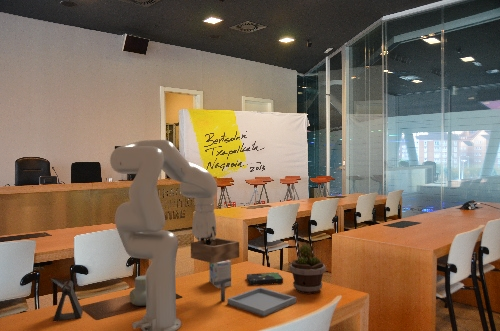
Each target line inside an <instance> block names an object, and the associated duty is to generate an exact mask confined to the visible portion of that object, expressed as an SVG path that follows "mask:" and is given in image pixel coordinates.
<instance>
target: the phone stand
mask: <svg viewBox="0 0 500 331" xmlns="http://www.w3.org/2000/svg"><path fill="white" fill-rule="evenodd" d="M67 283H68V284H67ZM67 287H68V288H67ZM66 296H68V298H69V303H70V304H71V308H72V311H73V312H66V313H65V312H64V313H62V312H63V309H64V305H65V304H64V303H65V301H66V300H65V299H66ZM83 311H84V310H83V309H82V305H81V304H80V301H79V299H78V297H77V294H76V292H75V290H74V282H73V281H72V280H69V282H68V280H66V281H64V283H63V285H62V288H61V297H60V299H59V302H58V305H57V307H56V310H55V313H54V316H53V317H52V322H53V321H56V322H63V321H69V320H70V321H72V320H71V319H73V320H79V319H78V318H80V319H82V316H83Z"/></svg>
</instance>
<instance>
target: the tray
mask: <svg viewBox="0 0 500 331" xmlns="http://www.w3.org/2000/svg"><path fill="white" fill-rule="evenodd" d="M226 300H227V305H229V306H232V307H235V308H238V309H240V310H244V311H247V312H250V313H252V314H255V315H258V316H261V317H266V316H269V315H271V314H273V313H275V312H277V311H280V310H282V309H285V308H286V307H289V306H292V305H294V304H296V303H297V297H296V296H293V295H289V294H286V293H282V292H279V291H275V290H272V289H268V288H264V287H257V288H254V289H251V290H248V291H246V292H242V293H240V294H236V295H235V296H231V297H229V298H227V299H226Z"/></svg>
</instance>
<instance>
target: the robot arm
mask: <svg viewBox="0 0 500 331" xmlns="http://www.w3.org/2000/svg"><path fill="white" fill-rule="evenodd" d="M109 157H110V159H109V162H110V166H111V169H112V170H113V171H114V172H116V173H118V174H122V175H128V174H131V175H135V177H134V179H133V180H132V182H131V184H130V186H129V189H128V198H129V201H126V202H123V203H121V204H119V205H118V207H117V209H116V211H115V215H114V224H115V227H116V231H117V233H118V235H119V238H120V240H121V243H122V246H123V248H124V250H125V252H126V254H127V255H128V256H129V257H131V258H135V259H143V260H144V259H145V260H150V261H151V262H150V265H149V266H148V267H147V269H146V271H145V275H146V305H145V309H146V310H145V312H146V313H145V314H143V315H142V316H143V318H141V320H138V321H134V322H132V324H131V325H132V328H133V329H135V330H136V329H138V328H140V329H141V331H177V330H178V329H180V327H181V326H182V321H181V319H179V318H178V317H177V299H176V298H177V292H176V291H177V288H176V261H177V260H176V259H177V253H178V247H179V240H178V237H177V235H176V234H175V233H174V232H172V231H169V230H165V229H164V228H165V224H166V216H165V212H164V208H163V206H162V202H161V200H160V196H159V193H158V186H157V185H158V181H159V177H160V174H161V172H162V171H163V172H164V173H165V174H166V176H167V177H169V178H170V179H171V180H173V181H176V182H178V183H180V184H179V192H180V194H181V195H182V196H183V197H185V198H194V212H193V218H192V228H191V229H192V236H194V238H195V239H196V240H197V241H202V240H204V244H205V245H211V242H212V241H215V238H216V236H217V220H216V214H215V196H216V195H217V193H218V183H217V181H216V179H215V178H214V176H213V175H212V174H211V173H210V172H209V171H208V170H207V169H206V168H203V167H201V166H200V165H197V164H195V163H192V162H190V161H188V160H187V158H185V157H184V155H183V154H182V153H181V152H180V151H179V150H178V148H177V147H176V146H175V145H174V144H173V142H171V141H170V140H167V139H148V140H140V141H136V142H133V143H129V144H125V145H121V146H118V147H116V148H115V149H114V150H113V151H112V152H111V154H110V156H109Z"/></svg>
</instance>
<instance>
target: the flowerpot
mask: <svg viewBox="0 0 500 331" xmlns="http://www.w3.org/2000/svg"><path fill="white" fill-rule="evenodd" d="M312 252H313V249H312V248H311V246H310V245H309V244H308V243H307V242H305V240H304V242H303V243H301V245H300V246H299V250H298V254H299V257H298V258H297V259H294V260H293V261H291V263H290V265H289V271H290V273H292V278H293V282H292V286H293V287H294V289H295V291H296V292H298V293H300V294H303V295H304V294H305V295H310V294H316V293H319V292H320V290H322V287H323V281H322V280H323V277H324V276H323V275H324V273H326V268H327V267H326V265H325V264H324V263H323V261H322V260H320V259H319V258H318V256H316V254H314V253H312Z"/></svg>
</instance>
